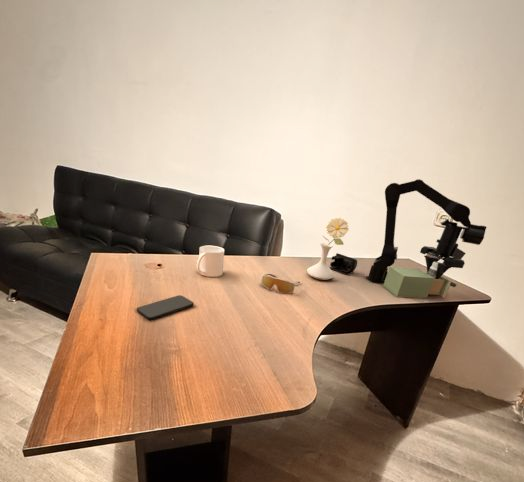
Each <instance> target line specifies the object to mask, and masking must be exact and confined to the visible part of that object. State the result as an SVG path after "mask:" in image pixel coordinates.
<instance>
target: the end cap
mask: <svg viewBox="0 0 524 482" xmlns="http://www.w3.org/2000/svg"><path fill="white" fill-rule="evenodd" d="M357 267H358V260H357V259H356V258H353V257H350V256H347V255H345V254H341V253H339V252H336V254H335V255H333V256H331V262H330V265H329V268H330V269H331V270H332V271H335V272H337V273H340V274H342V275H345V276H348V275H350V274H352V273H354V272H355V270H356V269H357Z"/></svg>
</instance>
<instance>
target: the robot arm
mask: <svg viewBox="0 0 524 482" xmlns="http://www.w3.org/2000/svg"><path fill="white" fill-rule="evenodd" d="M413 192H417V193H419V194H420V195H421V196H423V197H425V198H426V199H428V200H429V201H430V202H432V203H433V204H435V205H437V206H438V207H439V208H440V209H442V210H443V211H444V212H445V213H446V214H447V215H448V217H450V218H451V219H452V220H453V221H450V220H449V218H446V219H445V220H442V221H441V222H440V225H441V226H444V228H443V230H442V233H441V236H440V238H439V239H438V238H436V243H437V245H436V247H434V246H428V245H427V246H426V245H424V246H422V247H421V248H420V251H419V253H420V254H422V255H424V258H425V264H426V273H428V271H429V269H430V267H431V266H432V264H433V262H439V261H442V262H440V263H438V267H437V272H436V278H435V279H439V278H440V277H441V276H443V275H444V274H445V273H446V272H447V271H448V270H450V269H452V268H455V269H463V268H464V266H465V264H466V263H465V260H464V259H463V258H464V256H465V255H466V252H465V251H463V250H462V249H460V248H459V243H457V242H458V240H459V239H461V242H462V243H467V244H472V245H477V246H480V245H481V244H482V242H483V240H484V239H485V234H486V230H487V226H486V225H481V224H480V225H478V224H474V223H472V221H471V220H470V215H471V209H470V208H469V206H467V205H465V204H462V203H460V202H457V201H455V200H454V199H450V198H448V197H447V196H446V195H443V194H442V193H441V192H440V191H438V190H436V189H434V187H431V186H430V185H429V184H427V183H425V182H424V180H423V179H419V178H418V179H415V180H411V181H407V182H403V183H398V182H391V183H390V184H388V185H387V186H386V188H385V190H384V199H385V206H386V213H385V214H386V217H385V231H384V242H383V243H384V244H383V247H382V251H381V254H380V256H378V257H375V259H374V262H373V264H372V265H371V266H370V269H369V273H368V275H366V276H365V277H366V279H368V280H369V281H370V282H372V283H376V284H384V282H385V279H386V276H387V273H388V270H389V268H388V267H392V266H393V265H394V264H395V261H396V260H397V259H398V249H399V246H395V233H396V221H397V212H398V211H397V210H398V206H399V202H400V198H401V195H405V194H408V193H413ZM458 223H460V224H461V226H460V225H458Z"/></svg>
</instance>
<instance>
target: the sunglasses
mask: <svg viewBox="0 0 524 482" xmlns="http://www.w3.org/2000/svg"><path fill="white" fill-rule="evenodd" d="M301 284H302V281H298V282H297V283H295V282H293V281H292V282H291V281H289V280H286V279H282V278H279V277H276V275H275V274H272V273H265V274H262V275H261V285H262V286H263V287H264V288H266V289H267V290H269V291H272V290H273V289H274V288H275V287H276V290H277V292H278V293H279V294H293V293H294V291H295V288H296V287H298V286H301Z"/></svg>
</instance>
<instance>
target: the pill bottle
mask: <svg viewBox="0 0 524 482" xmlns="http://www.w3.org/2000/svg"><path fill="white" fill-rule="evenodd" d="M438 263H441V262H439V261H438V262H433V264H432V266H431V267H430V269H429V271H428V273H427V272H426V273H427V274H428V275H430V276H432V277H434V278H436V272H437V267H438Z"/></svg>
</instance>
